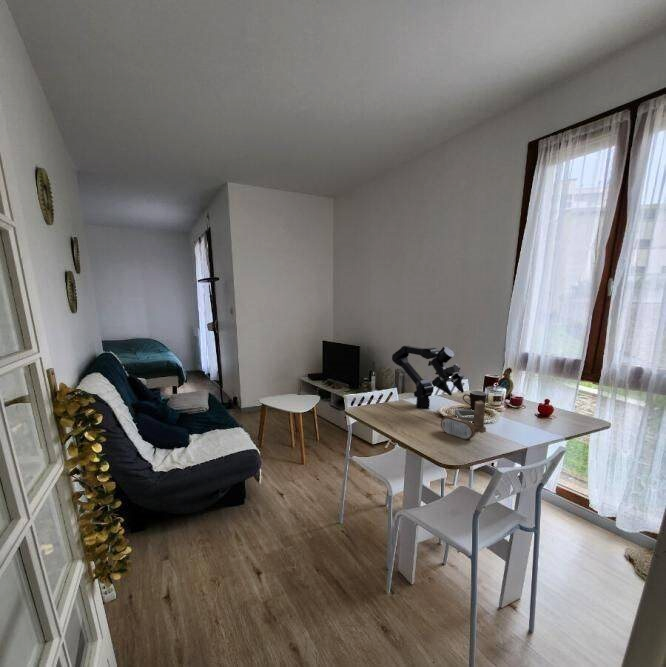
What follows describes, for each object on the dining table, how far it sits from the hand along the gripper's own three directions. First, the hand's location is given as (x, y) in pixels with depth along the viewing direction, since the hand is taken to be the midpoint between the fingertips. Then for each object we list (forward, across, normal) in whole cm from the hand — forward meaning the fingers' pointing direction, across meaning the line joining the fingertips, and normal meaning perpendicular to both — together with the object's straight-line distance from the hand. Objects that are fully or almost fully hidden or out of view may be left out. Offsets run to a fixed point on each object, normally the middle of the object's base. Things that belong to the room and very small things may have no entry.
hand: (457, 393), depth 160 cm
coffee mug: (+6, +22, +13) cm, 26 cm away
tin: (+19, -16, +1) cm, 25 cm away
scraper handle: (+19, 0, +1) cm, 19 cm away
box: (+12, +6, +8) cm, 15 cm away
